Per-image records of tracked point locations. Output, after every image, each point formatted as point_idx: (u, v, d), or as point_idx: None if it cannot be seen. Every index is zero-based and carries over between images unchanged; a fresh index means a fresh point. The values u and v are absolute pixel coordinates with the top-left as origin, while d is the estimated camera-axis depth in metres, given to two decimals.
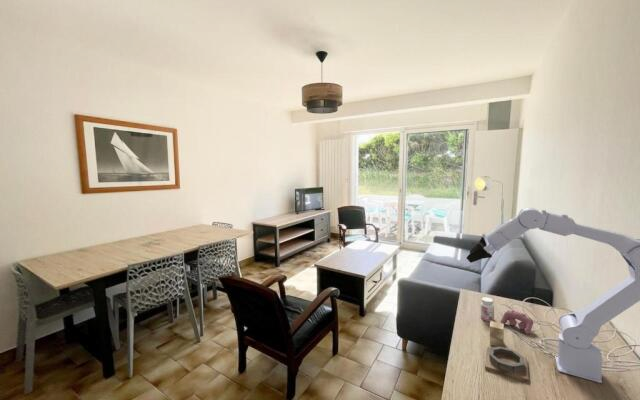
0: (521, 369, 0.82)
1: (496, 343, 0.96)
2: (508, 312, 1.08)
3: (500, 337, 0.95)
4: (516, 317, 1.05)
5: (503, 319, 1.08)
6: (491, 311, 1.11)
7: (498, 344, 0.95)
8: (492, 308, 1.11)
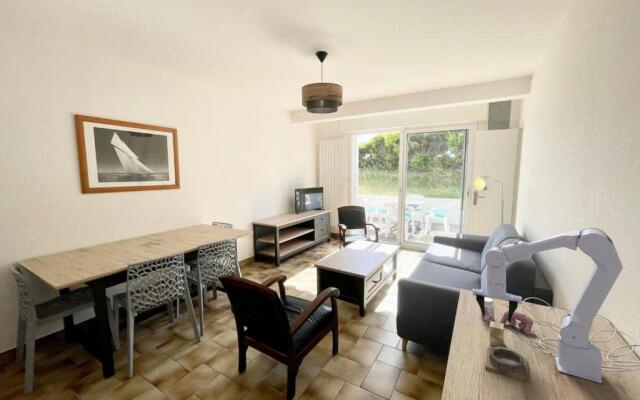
0: (521, 369, 0.82)
1: (496, 343, 0.96)
2: (508, 312, 1.08)
3: (500, 337, 0.95)
4: (516, 317, 1.05)
5: (503, 319, 1.08)
6: (491, 311, 1.11)
7: (498, 344, 0.95)
8: (492, 308, 1.11)
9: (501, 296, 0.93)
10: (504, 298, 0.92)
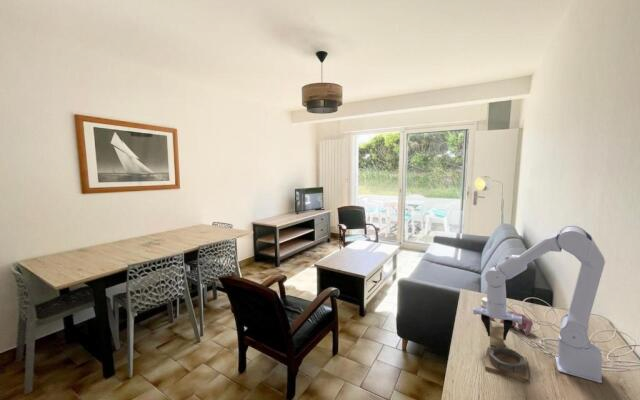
0: (521, 369, 0.82)
1: (496, 343, 0.96)
2: None
3: (500, 337, 0.95)
4: None
5: (502, 320, 1.07)
6: None
7: (498, 344, 0.95)
8: None
9: (501, 316, 0.93)
10: (504, 318, 0.93)
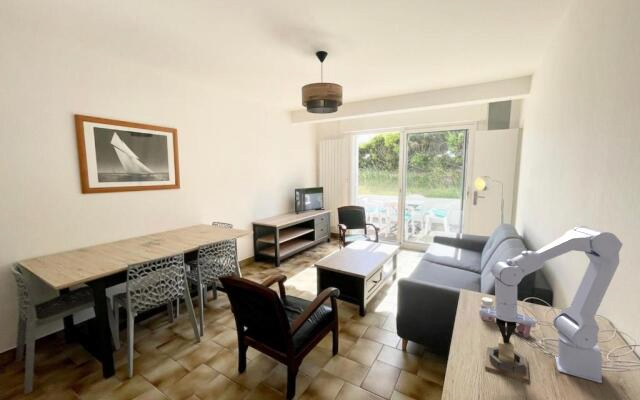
0: (521, 369, 0.82)
1: (506, 362, 0.85)
2: None
3: (510, 355, 0.84)
4: None
5: None
6: None
7: None
8: (492, 308, 1.11)
9: (512, 318, 0.82)
10: (515, 320, 0.82)
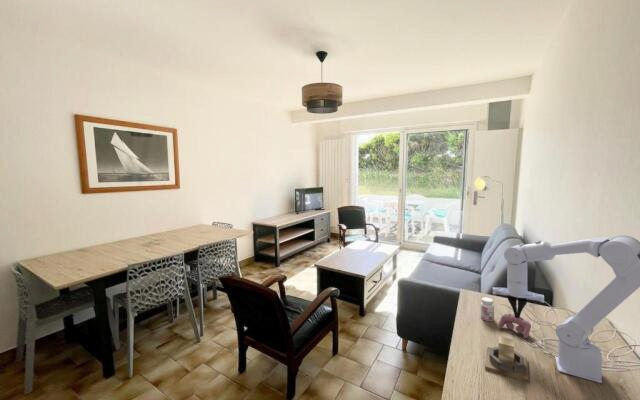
0: (521, 369, 0.82)
1: (506, 362, 0.85)
2: (505, 316, 1.06)
3: (510, 355, 0.84)
4: (513, 321, 1.03)
5: (500, 323, 1.05)
6: (491, 311, 1.11)
7: None
8: (492, 308, 1.11)
9: (523, 294, 0.92)
10: (526, 296, 0.91)
